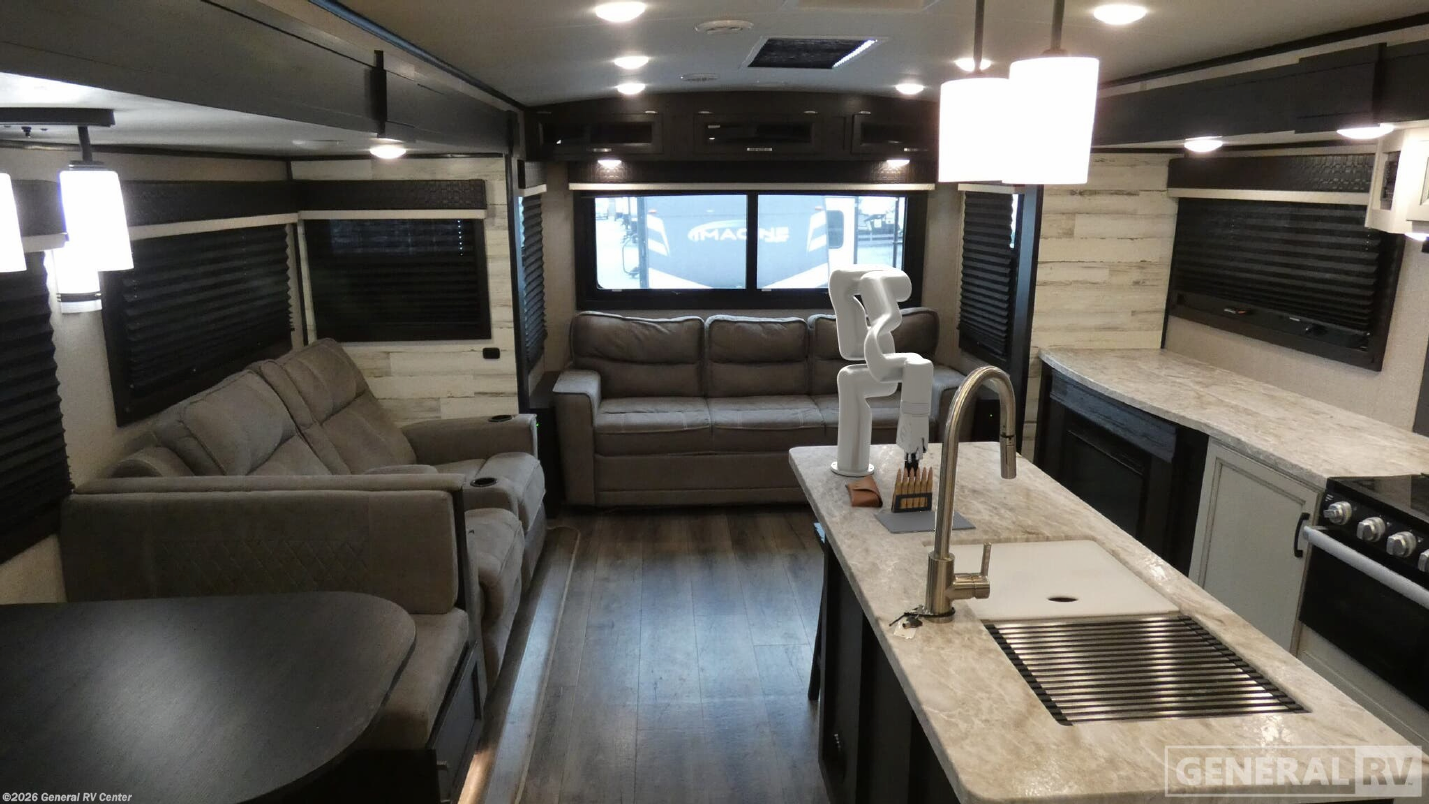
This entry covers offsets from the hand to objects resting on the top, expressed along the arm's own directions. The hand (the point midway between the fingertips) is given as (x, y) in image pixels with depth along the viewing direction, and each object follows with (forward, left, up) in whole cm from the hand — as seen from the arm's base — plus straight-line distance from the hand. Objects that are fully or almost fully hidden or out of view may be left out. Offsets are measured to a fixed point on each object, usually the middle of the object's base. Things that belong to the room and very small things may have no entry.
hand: (910, 476), depth 232 cm
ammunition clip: (+2, 0, -9) cm, 9 cm away
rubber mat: (+10, 0, -9) cm, 13 cm away
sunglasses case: (-11, -9, -10) cm, 17 cm away
